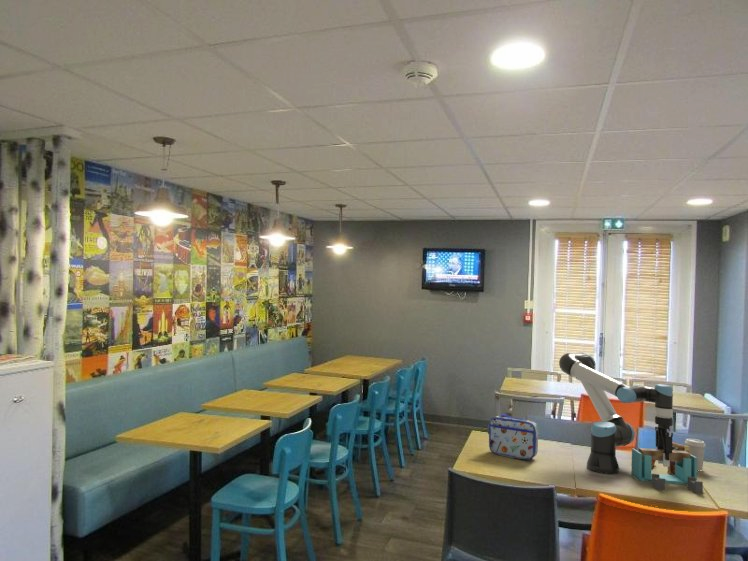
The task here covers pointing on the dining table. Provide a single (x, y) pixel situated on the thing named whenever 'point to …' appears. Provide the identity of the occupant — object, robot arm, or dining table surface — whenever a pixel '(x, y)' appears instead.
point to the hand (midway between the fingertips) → (663, 464)
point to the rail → (658, 454)
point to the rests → (692, 484)
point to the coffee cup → (696, 450)
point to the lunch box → (513, 437)
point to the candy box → (680, 448)
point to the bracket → (643, 473)
